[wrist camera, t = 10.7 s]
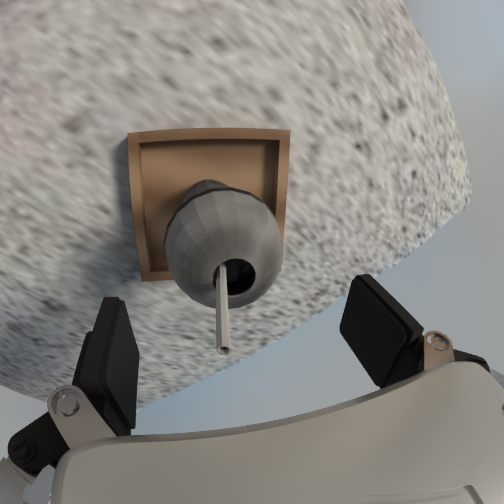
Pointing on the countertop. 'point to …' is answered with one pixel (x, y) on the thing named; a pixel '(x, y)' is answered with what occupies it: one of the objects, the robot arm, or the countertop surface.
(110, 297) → the robot arm
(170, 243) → the beverage cup
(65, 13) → the countertop surface
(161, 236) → the walnut tray
